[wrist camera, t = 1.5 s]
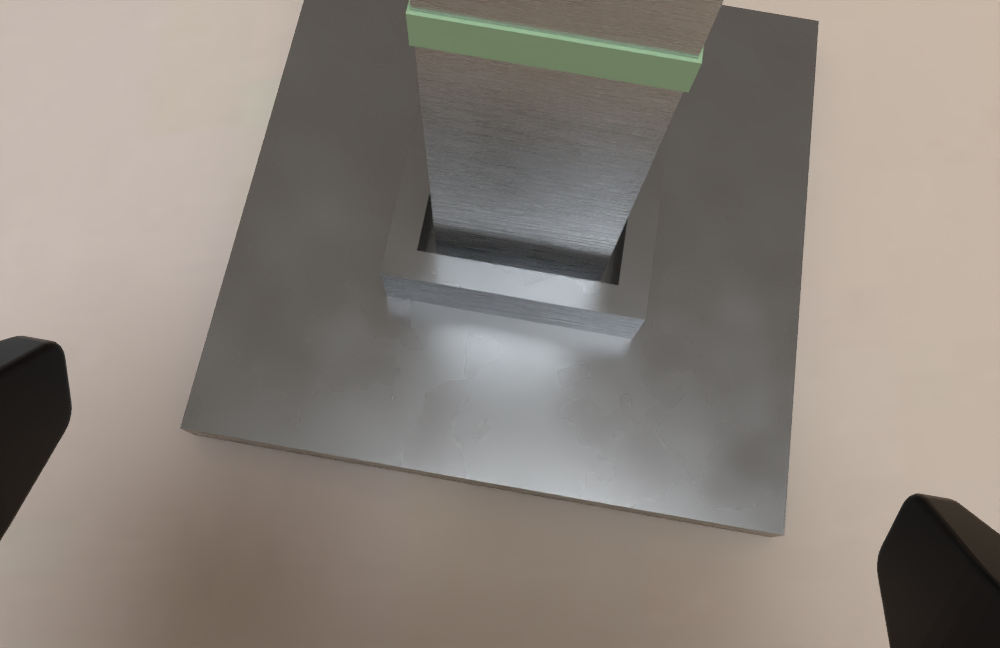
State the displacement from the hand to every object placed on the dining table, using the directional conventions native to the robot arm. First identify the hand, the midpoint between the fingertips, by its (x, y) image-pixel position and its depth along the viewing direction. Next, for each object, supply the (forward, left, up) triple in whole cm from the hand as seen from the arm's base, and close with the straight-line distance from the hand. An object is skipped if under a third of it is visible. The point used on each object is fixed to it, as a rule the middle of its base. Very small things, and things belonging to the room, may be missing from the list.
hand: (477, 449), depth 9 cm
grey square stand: (+7, +6, -14) cm, 17 cm away
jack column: (+7, +6, -12) cm, 15 cm away
